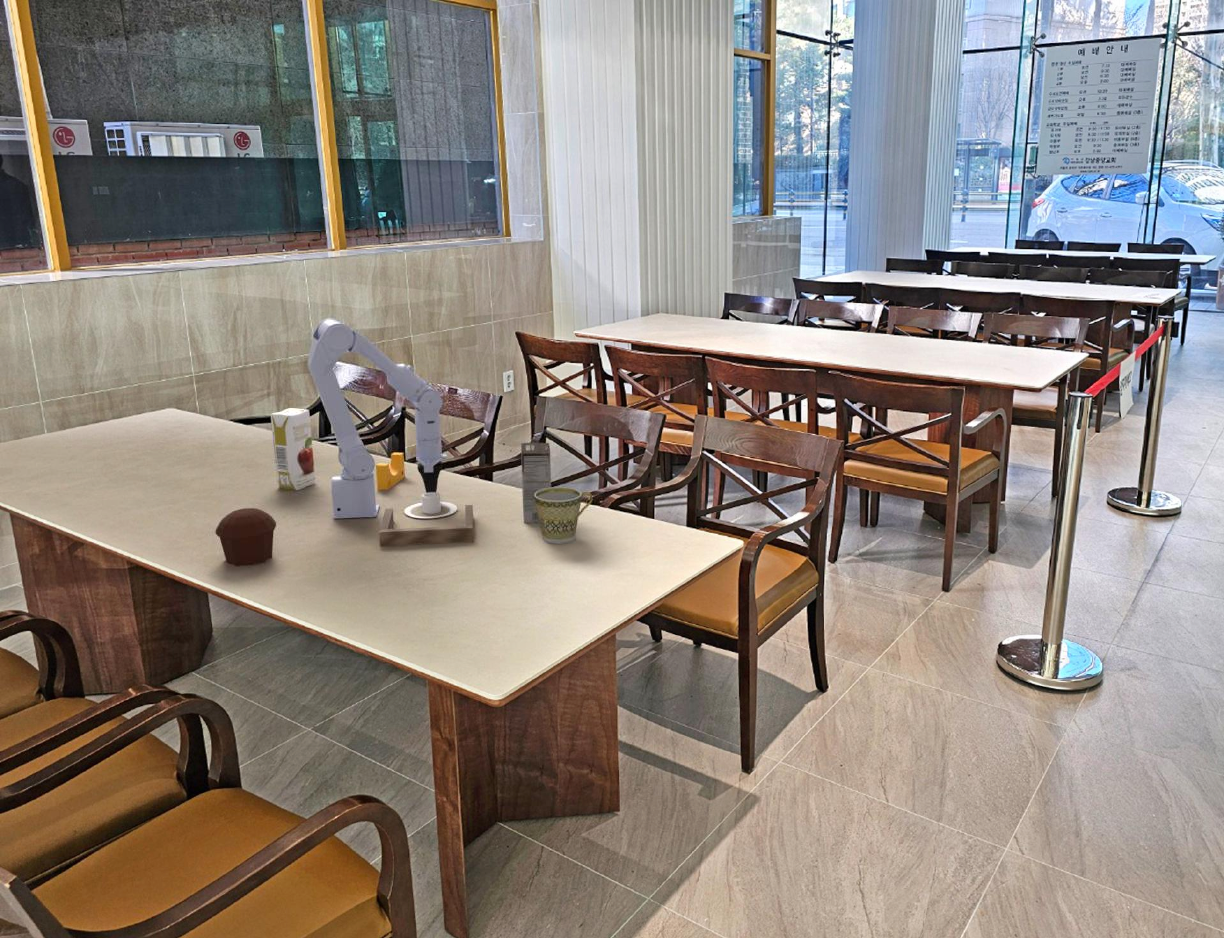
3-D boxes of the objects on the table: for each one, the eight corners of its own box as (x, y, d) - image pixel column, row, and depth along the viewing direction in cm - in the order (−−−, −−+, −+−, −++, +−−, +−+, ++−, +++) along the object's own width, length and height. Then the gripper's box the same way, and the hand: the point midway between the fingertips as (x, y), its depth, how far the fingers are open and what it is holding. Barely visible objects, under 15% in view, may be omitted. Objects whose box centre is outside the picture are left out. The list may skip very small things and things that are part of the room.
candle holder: (411, 524, 218) (410, 505, 217) (399, 508, 229) (398, 490, 228) (463, 516, 223) (462, 498, 222) (449, 501, 234) (448, 484, 232)
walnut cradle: (380, 545, 204) (379, 532, 203) (386, 521, 219) (385, 508, 218) (473, 541, 207) (472, 527, 206) (473, 517, 221) (472, 504, 221)
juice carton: (273, 488, 243) (265, 413, 238) (296, 479, 251) (289, 406, 245) (297, 492, 240) (290, 416, 235) (320, 482, 248) (313, 409, 243)
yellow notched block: (389, 476, 254) (387, 452, 252) (405, 477, 253) (403, 452, 251) (370, 490, 242) (369, 464, 241) (387, 490, 242) (385, 465, 240)
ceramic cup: (546, 550, 202) (545, 503, 199) (527, 535, 210) (526, 490, 207) (603, 539, 207) (602, 494, 205) (582, 525, 216) (582, 482, 213)
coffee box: (523, 510, 227) (521, 442, 222) (550, 509, 227) (549, 441, 223) (522, 523, 218) (520, 452, 213) (552, 522, 218) (550, 452, 214)
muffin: (243, 573, 190) (237, 524, 187) (206, 562, 196) (200, 514, 193) (291, 554, 200) (287, 507, 197) (255, 544, 205) (250, 498, 203)
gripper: (445, 444, 221) (448, 502, 225) (446, 429, 235) (449, 483, 239) (413, 446, 220) (416, 503, 224) (416, 430, 234) (419, 485, 238)
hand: (431, 493), depth 231 cm, fingers closed
